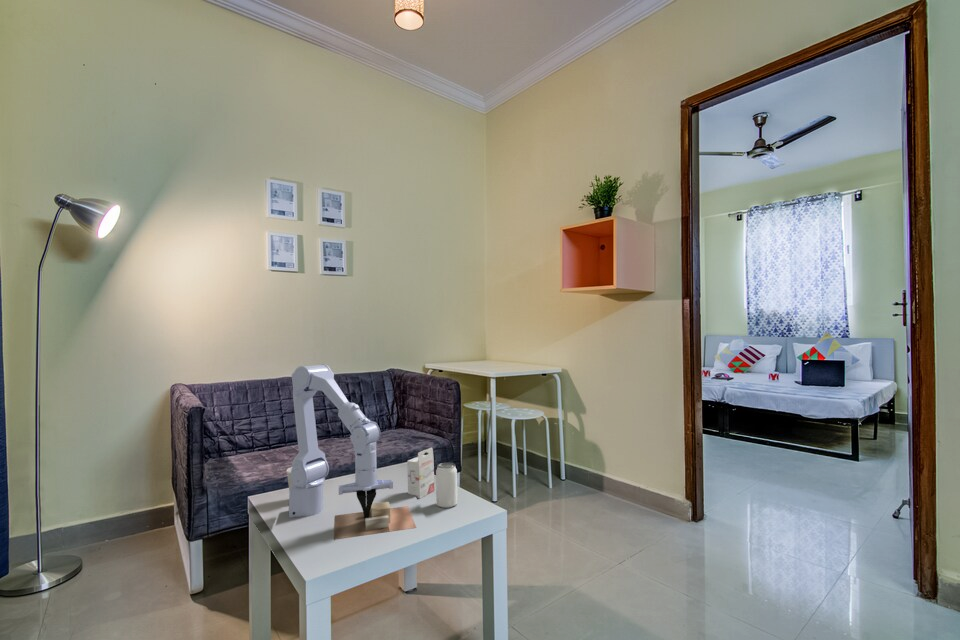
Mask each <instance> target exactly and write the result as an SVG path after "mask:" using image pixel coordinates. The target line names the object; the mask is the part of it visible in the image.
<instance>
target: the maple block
mask: <svg viewBox="0 0 960 640" xmlns="http://www.w3.org/2000/svg"><path fill="white" fill-rule="evenodd" d="M390 508H391V505H390V502H389V501H385V502H377V503H374V502H373V503H372V506H371V518H372V517H380V516H387V515H388V517H389V523H390Z"/></svg>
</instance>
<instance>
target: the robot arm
mask: <svg viewBox="0 0 960 640" xmlns="http://www.w3.org/2000/svg"><path fill="white" fill-rule="evenodd" d="M334 378H335V373H334V371H332V370H331V368H330V366H329V365H328V364H325V363H324V364H323V363H322V364H317V365H315V364H314V365H307V366H306V365H300V366H298V367H296V369H295V370H294V371H293V373H292V374H291V383H292V399H293V410H294V419H295V429H296V439H297V445H298V446H297V447H298V448H297V449H298V453H297V455H295V457H294V458H293V459H292V461H291V467H292V470H291V479H292V482H293V483H294V485H295V486H291V487H290V492H288V493H289V495H288V501H289V502H288V518H296V517H297V518H298V517H311V516H316V515H319V514H320V513H322V512H323V511H324V482H325V481H326V477H328V475H329V471H330V466H329V463H328V461H327V458H326V453H325V452H323V451H322V450H321V449H320V448H319V445H318V444H319V443H318V433H317V425H316V418H315V417H316V416H315V408H314V407H315V406H314V398H313V397H314V396H316V395H315V394H316V393H317V392H318V391H320V392H322V393H324V395H325V396H326V397H327V398H328V400H329V401H331V403H332V404H333V406H335V407H336V408H337V409H338V411H337V412H338V413H337V416H338V418H339V420H341V422H342V423H343V425H344V426H345V427H346V428H347V430H348V431H349V432H350V436H349V438H350V439H349V440H350V442H351V444H352V446H353V451H354V457H355V458H354V462H355V463H354V464H355V465H354V466H355V469H354V470H355V474H354V475H355V477H354V478H355V481H354V482H352V483H351V482H350V483H346V484H340V485H338V495H344V494H350V493H356V498H357V499H358V503H359V504H360V507H361V509H362V512H363V513H364V519H365V518H369V513H370V509H371V506H372V504H374V500H375V498H376V495H377V490H385V489H389V490H391V489H394V481H393V479H378V478H377V477H378V476H377V473H378V471H377V470H378V469H377V466H378V464H377V441H379V439H380V437H381V429H380V426H379V425H378V423H377V422H375V421H372V420H371V419H369V418H367V416H366V415H365V414H364V413H363V411H362V410H361V409H360V406H359V404H358V403H357V404H356V403H355V402H350V401H349V400H348V399H347V397H346V395H345V394H344V392H343V391H342V389H341V388H340V386H339V384H338V383H337V382H336V380H335V379H334Z"/></svg>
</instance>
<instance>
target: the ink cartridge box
mask: <svg viewBox="0 0 960 640" xmlns="http://www.w3.org/2000/svg"><path fill="white" fill-rule="evenodd" d="M425 453H426V454H425ZM434 458H435V457H434V448H433V447H432V446H431V447H429V448H427V449H424V450H422V451H419V452H417V456H416V457H413V458H411V459H408V460H406V461H407V462H406V465H407V467H406V468H407V493H408V495H412V496H415V498H416V499H421V498H423V497H425V496H427V495H430V494H431V493H432V492H434V491H435V466H434V465H435V463H434V462H435V460H434Z"/></svg>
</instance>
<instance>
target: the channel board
mask: <svg viewBox="0 0 960 640" xmlns="http://www.w3.org/2000/svg"><path fill="white" fill-rule="evenodd" d="M416 528H417V525H416V523H415V521H414V518H413V515H412V513H411V511H410V507H409V506H408V505H406V506H398V507H390V523H389V517H388V515H387V516H380V517H372V518H371V509H370V513H369V518H365V519H364V513H363V511H360V512H359V511H358V512H352V513H344V514H338V515H336V514H335V515H334V528H333V529H334V530H333V540H334V541H336V540H343V539H348V538H355V537H362V536H369V535H378V534H382V533H390V532H398V531H404V530H412V529H416Z"/></svg>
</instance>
